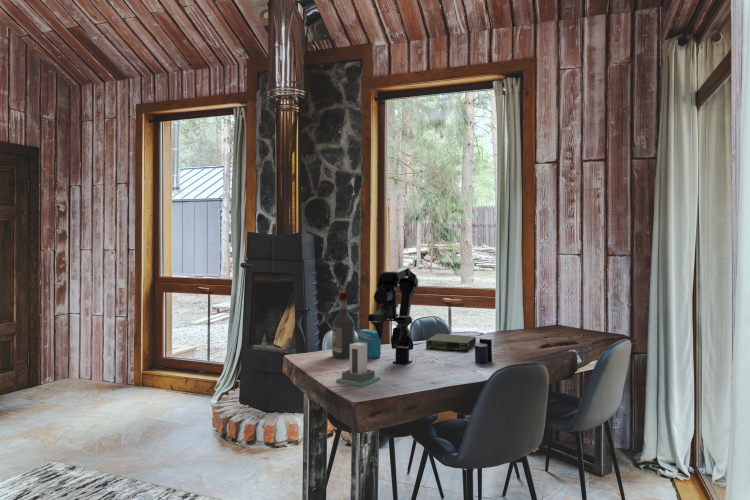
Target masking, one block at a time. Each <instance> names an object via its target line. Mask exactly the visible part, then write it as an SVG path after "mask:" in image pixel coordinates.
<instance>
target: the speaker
mask: <svg viewBox="0 0 750 500" xmlns="http://www.w3.org/2000/svg"><path fill="white" fill-rule="evenodd" d="M492 341H493V340H492V339H491V338H479V341H478V342H476V343H475V344H474V362H475V363H476V364H480V365H486V364H488V363H490V362H491V363H492V362H493V345H492Z"/></svg>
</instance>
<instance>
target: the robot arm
mask: <svg viewBox="0 0 750 500" xmlns="http://www.w3.org/2000/svg"><path fill="white" fill-rule="evenodd" d="M417 277H418V276H417V275H416V273H414V272H412V271H411V268H409V267H398V268H396V269H394V270H392V271H387V270H386V271H383V270H382V271H381V274H380V275H379V277H378V280H377V281H378V282H377V285H376V288H377V289H378V290H377V291H375V292H374V295H373V300H374V301H375V303H376V304H378V305H380V307H379V308H380V309H377V310H376V311H375V312H374V313H369V314H368V315H367V321H368V322H370V324H372V325H373V326H374V327H375V331H377V333H378V336H379V338H380V339H381V340H382V338H383V330H384V322H396V323H397V324H396V325H395V326H396V327H393V328H392V334H391V336H390V343H391V344H390V345H391V349H392V350H393V349H394V350H395V353H394V355H395V356H394V357H395V360H393V361H392V363H393V364H397V365H398V364H399V365H408V364H410V363H412V362H413V360H410V351H412V350H414V342H413V339H412V336H411V331H410V329H409V326H410V324H413V318H412V316H410V313H411V306H412V298H413V296H414V295H415V293H416V292H417V289H418V287H419V280H418V278H417ZM397 287H398V288H399V292H400V294H401V295H400V297H401V298H400V304H399V303H397V298H398V297H397V291H398V288H397ZM399 305H400V306H399ZM397 307H399V311H398V313H397Z"/></svg>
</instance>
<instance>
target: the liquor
mask: <svg viewBox="0 0 750 500" xmlns="http://www.w3.org/2000/svg"><path fill="white" fill-rule="evenodd" d="M348 312H349V311H348V292H347V291H344V292H342V291H341V292H339V312H338V314H337V315H336V316H335V317H334V319H332V323H331V326H332V327H331V329H332V330H331V333H332V334H331V335H332V337H331V338H332V339H331V340H332V342H331V343H332V345H331V346H332V348H331V351H332V356H333V358H335V359H339V360H344V359H345V360H346V359H350V344H353V343H356V342H355V340H356V339H355V334H356V333H355V331H356V329H355V328H356V327H355V320H354V318H352V316H351V315H350V314H349V313H348Z"/></svg>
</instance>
